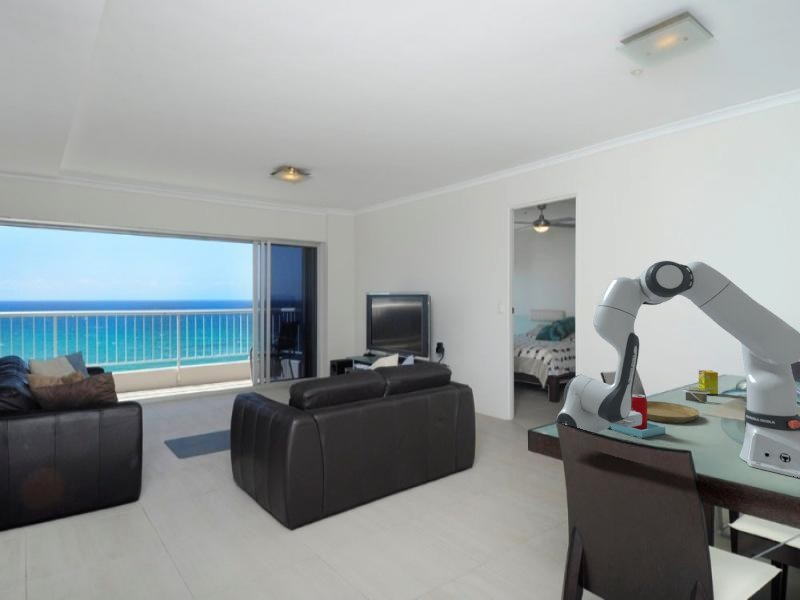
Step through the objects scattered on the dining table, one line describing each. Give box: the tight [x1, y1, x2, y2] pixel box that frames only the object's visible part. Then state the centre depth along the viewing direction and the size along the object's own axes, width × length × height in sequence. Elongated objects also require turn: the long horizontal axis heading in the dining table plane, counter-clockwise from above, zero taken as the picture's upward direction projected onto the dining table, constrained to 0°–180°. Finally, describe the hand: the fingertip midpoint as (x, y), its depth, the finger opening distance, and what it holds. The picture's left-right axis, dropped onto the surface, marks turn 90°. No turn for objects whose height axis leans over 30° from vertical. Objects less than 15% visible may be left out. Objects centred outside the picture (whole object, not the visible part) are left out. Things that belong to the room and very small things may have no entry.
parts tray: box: [610, 421, 666, 439], centre depth 161 cm, size 12×12×2 cm
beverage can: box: [631, 393, 648, 430], centre depth 161 cm, size 6×6×12 cm
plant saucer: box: [647, 400, 700, 424], centre depth 183 cm, size 24×24×3 cm
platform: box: [682, 386, 710, 403], centre depth 207 cm, size 12×18×7 cm, turn 59°
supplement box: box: [698, 369, 719, 397], centre depth 222 cm, size 6×6×11 cm
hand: (619, 410), depth 154 cm, fingers open, 8 cm apart
